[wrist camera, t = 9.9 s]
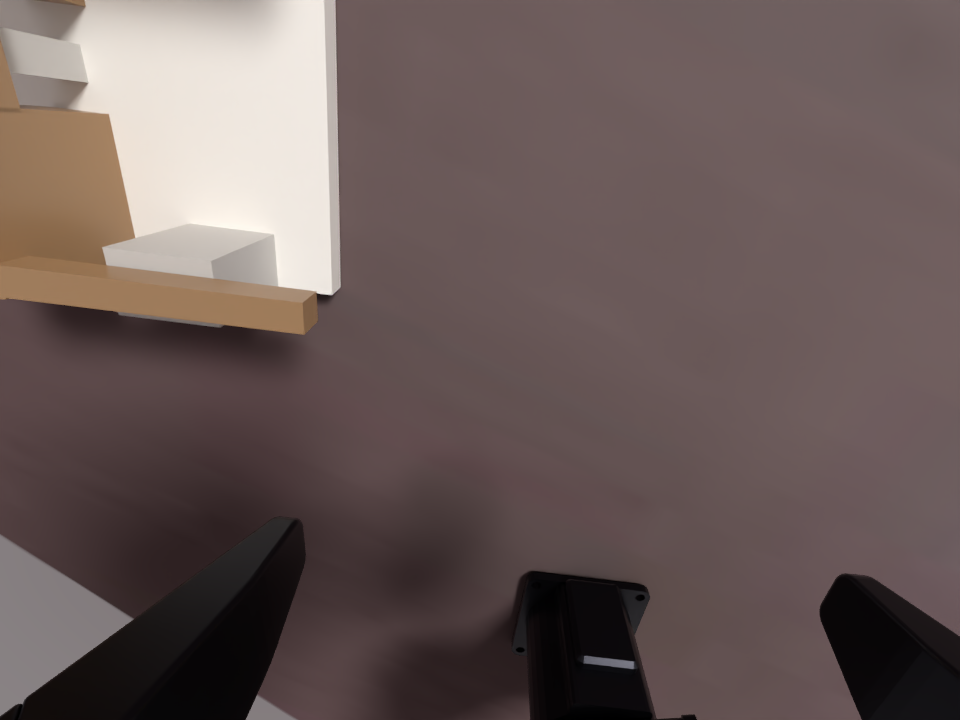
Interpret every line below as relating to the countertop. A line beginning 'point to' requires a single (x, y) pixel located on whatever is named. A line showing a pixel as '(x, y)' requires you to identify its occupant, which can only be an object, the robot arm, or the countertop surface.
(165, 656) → the robot arm
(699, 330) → the countertop surface
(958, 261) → the countertop surface
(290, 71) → the display stand
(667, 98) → the countertop surface
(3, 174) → the wooden c-shaped bracket
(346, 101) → the countertop surface
